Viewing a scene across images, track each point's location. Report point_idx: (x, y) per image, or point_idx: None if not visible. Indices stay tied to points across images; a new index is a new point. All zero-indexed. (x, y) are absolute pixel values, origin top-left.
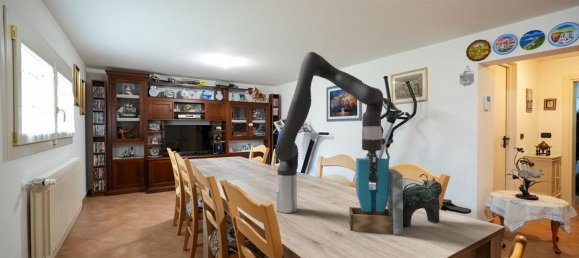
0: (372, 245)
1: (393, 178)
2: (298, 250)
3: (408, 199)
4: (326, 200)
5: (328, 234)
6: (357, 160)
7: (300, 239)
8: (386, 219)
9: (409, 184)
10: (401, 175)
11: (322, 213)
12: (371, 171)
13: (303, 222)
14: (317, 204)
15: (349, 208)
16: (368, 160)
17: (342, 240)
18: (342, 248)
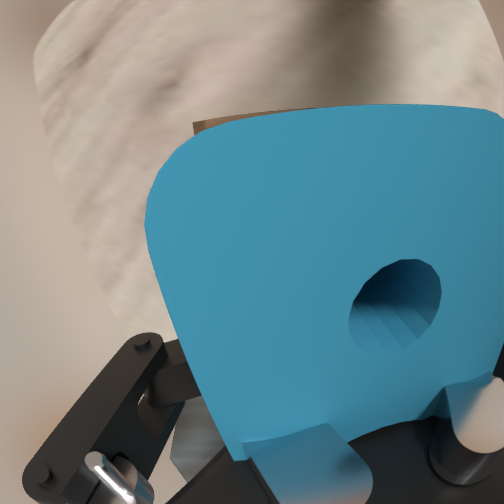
0: (107, 213)
1: (185, 436)
2: (39, 46)
3: None
4: (490, 57)
5: (146, 66)
6: (184, 150)
7: (95, 15)
8: None
9: None
10: (186, 477)
11: (362, 20)
12: (134, 348)
13: None
14: (446, 18)
15: (295, 109)
16: (228, 436)
17: (112, 120)
18: (65, 136)
